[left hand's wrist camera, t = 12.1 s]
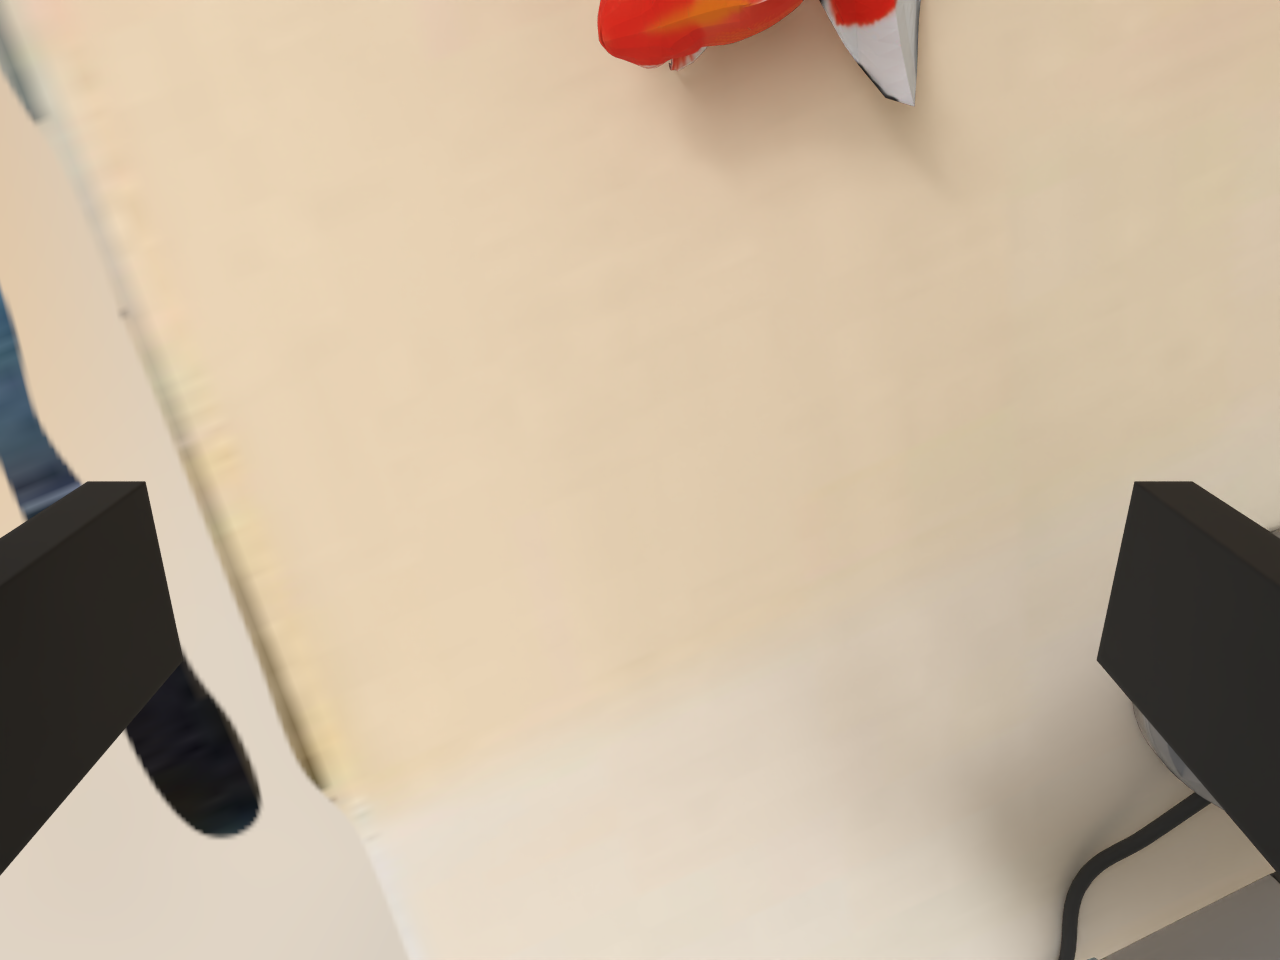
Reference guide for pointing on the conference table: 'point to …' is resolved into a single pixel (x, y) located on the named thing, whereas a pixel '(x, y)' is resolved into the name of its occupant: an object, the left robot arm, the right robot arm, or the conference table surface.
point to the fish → (749, 3)
